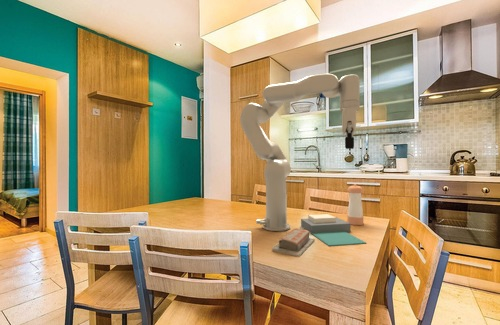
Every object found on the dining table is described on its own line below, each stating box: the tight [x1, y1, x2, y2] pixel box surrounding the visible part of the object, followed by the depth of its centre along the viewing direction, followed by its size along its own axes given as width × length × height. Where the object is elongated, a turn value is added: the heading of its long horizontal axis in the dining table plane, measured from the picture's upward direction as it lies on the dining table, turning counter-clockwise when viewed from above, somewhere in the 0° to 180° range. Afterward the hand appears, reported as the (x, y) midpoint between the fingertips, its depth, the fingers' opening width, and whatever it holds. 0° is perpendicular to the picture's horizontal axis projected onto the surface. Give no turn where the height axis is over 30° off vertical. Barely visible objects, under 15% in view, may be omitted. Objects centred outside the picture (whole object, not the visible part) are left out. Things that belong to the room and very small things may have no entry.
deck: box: [300, 216, 352, 235], centre depth 111 cm, size 18×12×4 cm, turn 99°
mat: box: [311, 231, 367, 247], centre depth 97 cm, size 15×15×1 cm
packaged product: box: [271, 228, 315, 257], centre depth 89 cm, size 18×5×10 cm
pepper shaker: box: [346, 183, 364, 226], centre depth 119 cm, size 7×7×19 cm
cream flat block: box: [307, 213, 337, 223], centre depth 111 cm, size 10×7×2 cm
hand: (349, 148), depth 100 cm, fingers open, 9 cm apart
